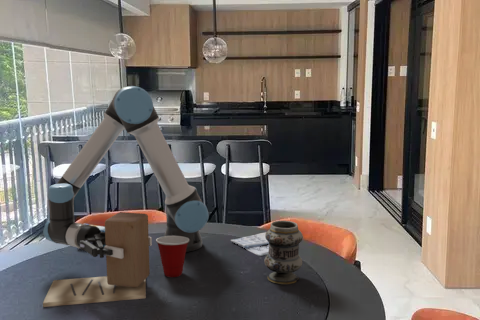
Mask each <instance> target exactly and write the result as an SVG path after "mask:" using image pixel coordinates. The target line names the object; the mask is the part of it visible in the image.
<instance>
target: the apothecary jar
mask: <svg viewBox="0 0 480 320" xmlns="http://www.w3.org/2000/svg"><path fill="white" fill-rule="evenodd" d="M265 232H266V234H265V238H266V240H267V241H268V242H269V244H268V245H269V252H268V254H267V255H265V257H264V260H263V261H264V265H265V267H266V268H267V269H268V270H270V271H272V272H270V273H269V274H268V275H267V280H268V281H269V282H271V283H274V284H276V285H292V284H295V283H297V281H299V278H300V277H299V276H298V275H297V274H296V273H294V272H296V271H299V269H301V268H302V266H303V258H301V256H300V255H299V253H300V252H299V251H300V250H299V249H300V246H299V245H300V243H302V241H303V239H304V235H303V233H302V232H301V230H300V229H299V226H298V223H296V222H295V221H292V220H274V221H273V222H271V223H270V227H269V229H268V230H266V231H265Z"/></svg>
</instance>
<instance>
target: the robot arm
mask: <svg viewBox="0 0 480 320" xmlns="http://www.w3.org/2000/svg"><path fill="white" fill-rule="evenodd" d="M103 115H104V118H103V119H102V121H101V122H100V123H99V125H98V126H97V127H96V129H95V130H94V132H93V133H92V134H91V136H90V137H89V139H88V140H87V141H86V143H85V144H84V145H83V146H82V148H81V149H80V151H78V154H77V155H76V156H75V157H74V159H73V160H72V162H71V163H70V165H69V166H68V168H67V169H66V170H65V172H64V173H63V174H62V176H61V177H60V179H59V180H58V181H57V182H56V183H55V184H52V185H50V186H49V187H48V196H47V197H48V206H49V209H48V210H49V220H47V221H46V222H45V224H44V228H43V230H42V231H43V232H42V233H43V236H44V239H46V240H47V241H49V242H52V243H55V244H59V245H60V244H61V245H64V246H70V247H74V248H77V249H80V250H81V251H85V252H86V253H88V254H89V255H90V256H92V257H93V258H96V257H98V255H99V259H103V258H105V256H106V255H107V256H112V257H116V258H120V259H122V258H124V256H123V249H121V248H117V247H112V246H107V245H106V241H105V232H101V231H100V229H99V228H98V227H96V226H91V225H92V224H91V225H86V224H87V223H86V224H85V223H81V222H75V197H76V196H77V194H78V193H79V191H80V190H81V188H82V187H83V186H84V184H85V182H86V181H87V180H89V179H88V178H89V177H90V176H91V175H92V174H93V172H94V171H95V169H96V168H97V167H98V165H99V164H100V162H101V161H102V159H103V158H104V157H105V155H106V154H107V153H108V151H109V150H110V148H111V147H112V146H113V144H114V143H115V142H116V140H117V139H118V138H119V136H120V134H121V133H122V132H123V131H126V133H127V134H129V135H132V136H134V139H135V140H136V142H137V144H138V145H139V148H140V149H141V151H142V153H143V155H144V157H145V159H146V160H147V163H148V165H149V166H150V169H151V170H152V172H153V174H154V176H155V177H156V179H157V181H158V184H159V185H160V188H161V190H162V191H163V193H164V194H165V200H164V205H165V208H166V209H165V210H166V228H165V230H164V231H165V232H164V235H163V237H164V236H183V237H187V238H189V242H188V244H187V248H186V253H189V252H194V251H198V250H199V249H201V248H202V246H203V239H202V235H201V233H200V230H202V229H203V228H205V226H206V224H207V222H208V220H209V211H208V207H207V205H206V204H205V203H204V202H203V201H202V199H201V196H200V195H199V193H198V190H197V188H196V186H193V185H190V184H189V183H188V181H187V179H186V178H185V176H184V174H183V171H182V170H181V168H180V165H179V164H178V162H177V160H176V158H175V156H174V153H173V151H172V150H171V148H170V146H169V144H168V142H167V140H166V137H164V134H163V132H162V130H161V128H160V126H159V125H158V123H159V120H160V116H159V114H158V112H157V111H156V108H155V106H154V102H153V99H152V96H151V95H150V94H149V92H148V91H147V90H145V89H144V88H143V87H140V86H137V85H128V86H124V87H122V88H120V89H118V90H117V92H115V94H114V96H113V97H112V100H111V102H110V104H109V106H107V108H106V110H105V111H104V113H103ZM152 239H153V237H152V236H150V235H149V247H151V246H152V245H153V243H152ZM103 245H106V246H104V248H103Z"/></svg>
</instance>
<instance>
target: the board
mask: <svg viewBox="0 0 480 320" xmlns="http://www.w3.org/2000/svg"><path fill="white" fill-rule="evenodd" d="M146 279H147V278H146ZM146 279H145V280H144V281H143V282H142V283H141V284H140V285H139V286H137V287H130V286H118V285H109V284H108V283H107V275H106V276H96V277H95V276H94V277H82V278H80V277H79V278H69V279H68V278H66V279H54V280H53V281H52V283H51V285H50V287H49V289H48V291H47V294H46V295H45V297H44V300H43V302H42V307H43V308H46V307H57V306H58V307H60V306H71V305H80V304H82V305H83V304H92V303H104V302H105V303H106V302H116V301H119V302H120V301H128V300H129V301H130V300H139V299H140V300H141V299H146V297H147V296H146V295H147V293H146V291H147V290H146V286H147V285H146V284H147V282H146Z"/></svg>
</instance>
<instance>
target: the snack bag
mask: <svg viewBox="0 0 480 320" xmlns="http://www.w3.org/2000/svg"><path fill="white" fill-rule="evenodd" d="M266 232H267V231H265V232H261V233H256V234H253V235H248V236H243V237H239V238H235V239H234V238H233V239H230V242H231V243H232V242H233V244H234V243H235V245H237V244H238V245H237V246H238V247H240V248H242V247H243V249H244V248H245V249H246V250H245V249H244V250H245V251H248V252H250V253H252V254H254V255H256V256H258V257H263V256H266V255H267V254H268V252H269V242H268V241H267V240H266V238H265V234H266ZM267 244H268V245H267ZM265 245H266V246H265ZM260 246H261V247H260Z"/></svg>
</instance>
